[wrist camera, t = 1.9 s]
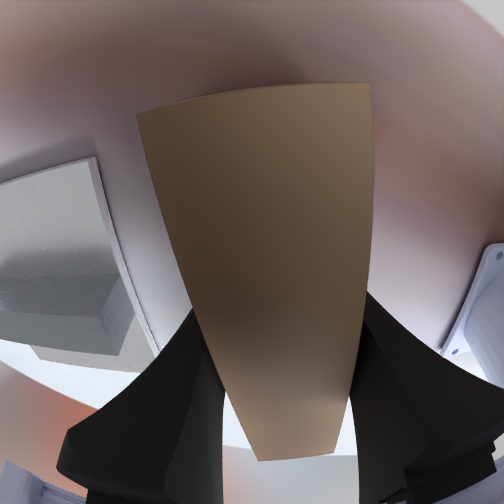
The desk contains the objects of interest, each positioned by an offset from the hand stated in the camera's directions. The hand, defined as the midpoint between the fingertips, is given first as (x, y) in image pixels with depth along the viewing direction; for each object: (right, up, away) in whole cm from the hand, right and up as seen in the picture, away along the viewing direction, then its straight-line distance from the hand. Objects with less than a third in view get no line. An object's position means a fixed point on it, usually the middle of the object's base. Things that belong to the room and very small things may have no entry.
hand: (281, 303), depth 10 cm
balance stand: (-10, 0, +2) cm, 11 cm away
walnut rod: (0, +1, +1) cm, 2 cm away
